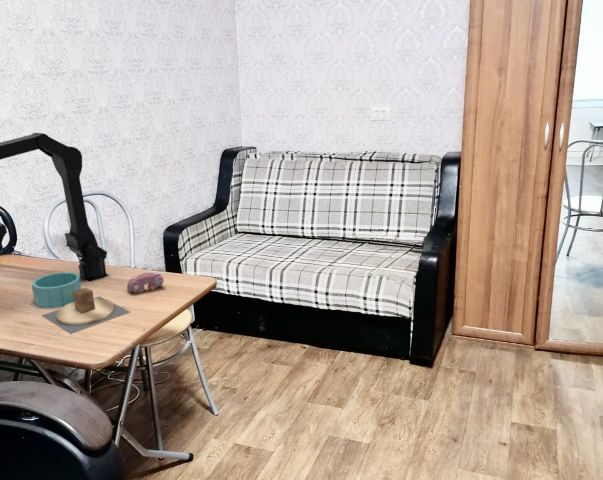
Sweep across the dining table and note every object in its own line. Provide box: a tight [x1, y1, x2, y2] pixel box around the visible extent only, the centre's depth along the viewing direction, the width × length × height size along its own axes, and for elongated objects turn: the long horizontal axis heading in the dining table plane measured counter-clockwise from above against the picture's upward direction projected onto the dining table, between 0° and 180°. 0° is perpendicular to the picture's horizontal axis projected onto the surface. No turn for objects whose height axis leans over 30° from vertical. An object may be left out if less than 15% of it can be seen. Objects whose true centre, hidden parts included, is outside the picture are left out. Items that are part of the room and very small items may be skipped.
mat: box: [41, 296, 131, 335], centre depth 148 cm, size 16×16×1 cm
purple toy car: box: [126, 271, 165, 294], centre depth 162 cm, size 10×5×7 cm, turn 117°
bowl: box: [31, 271, 83, 309], centre depth 157 cm, size 12×12×6 cm
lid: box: [56, 287, 115, 326], centre depth 147 cm, size 14×14×6 cm
